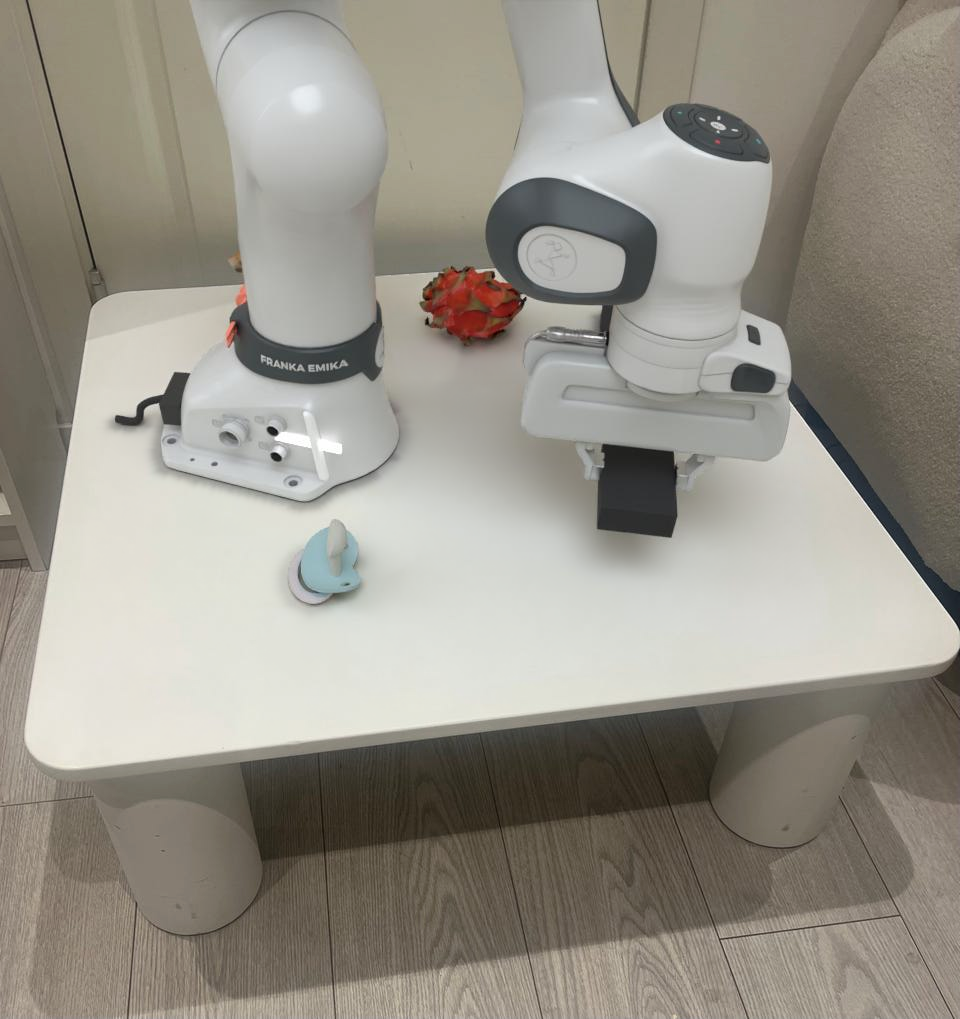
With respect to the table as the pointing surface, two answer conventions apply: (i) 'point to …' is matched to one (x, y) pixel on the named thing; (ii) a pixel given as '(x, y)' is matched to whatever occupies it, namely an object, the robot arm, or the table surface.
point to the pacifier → (325, 564)
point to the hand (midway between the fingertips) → (637, 480)
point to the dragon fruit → (470, 303)
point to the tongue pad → (637, 491)
